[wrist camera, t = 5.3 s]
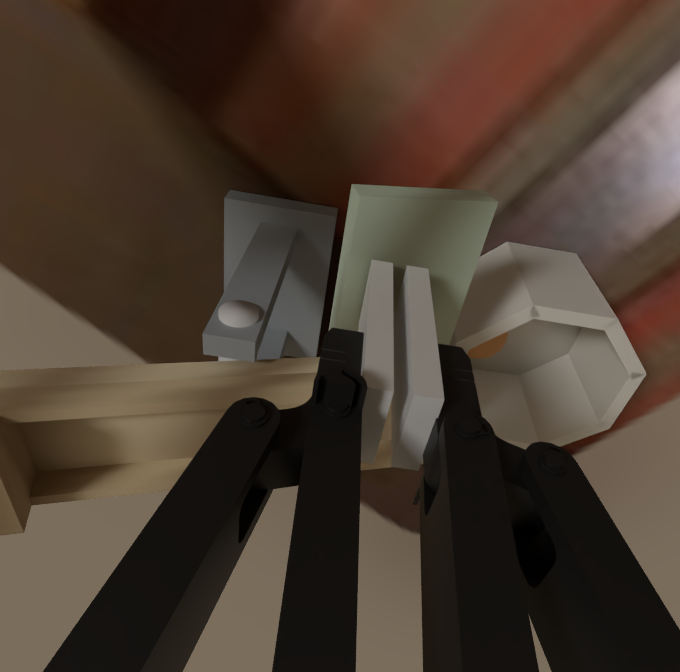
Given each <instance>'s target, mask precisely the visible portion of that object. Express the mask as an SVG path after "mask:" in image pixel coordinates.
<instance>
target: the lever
mask: <svg viewBox="0 0 680 672" xmlns="http://www.w3.org/2000/svg"><path fill="white" fill-rule="evenodd" d="M497 205H498V202H497V201H496V200H495V199H494V198H493V197H492V196H490V195H489V194H488V193H487V192H486V191H476V190H457V189H438V188H418V187H399V186H380V185H361V184H352V185H351V192H350V198H349V205H348V211H347V217H346V224H345V230H344V236H343V243H342V249H341V255H340V262H339V268H338V274H337V281H336V287H335V293H334V300H333V306H332V312H331V319H330V325H329V330H330V329H331V328H332V327H333V328H339V329H345V330H351V331H357V332H358V327H359V320H360V315H361V310H362V305H363V300H364V295H365V290H366V285H367V280H368V275H369V270H370V265H371V260H378V261H384V262H390V263H393V319H394V315H395V311H396V307H397V303H398V299H399V295H400V291H401V287H402V283H403V279H404V275H405V271H406V267H407V265H408V266H414V267H420V268H427V269H428V270H429V278H430V286H431V294H432V302H433V311H434V319H435V327H436V335H437V343H438V344H445V345H449V344H450V341H451V338H452V335H453V332H454V329H455V326H456V324H457V321H458V318H459V315H460V312H461V309H462V306H463V303H464V300H465V297H466V295H467V292H468V289H469V286H470V283H471V280H472V277H473V274H474V271H475V269H476V266H477V263H478V260H479V257H480V254H481V251H482V248H483V245H484V242H485V240H486V237H487V234H488V231H489V228H490V225H491V222H492V219H493V216H494V214H495V211H496V208H497ZM319 360H320V357H309V358H285V359H261V360H255V362H249V361H243V360H238V361H214V362H190V363H167V364H143V365H120V366H97V367H74V368H73V367H72V368H52V369H51V368H49V369H25V370H2V371H0V535H9V534H17V533H24V530H25V527H26V523H27V519H28V516H29V512H30V509H31V505H39V504H48V503H58V502H67V501H77V500H86V499H96V498H105V497H114V496H124V495H132V494H142V493H152V492H161V491H170V490H171V489H172V487H173V486H174V485H175V483H176V482H177V480H178V479H179V478H180V476H181V475H182V473H183V472H184V470H185V469H186V468H187V466H188V465H189V463H190V462H191V460H192V459H193V458H194V456H195V455H196V453H197V452H198V450H199V449H200V448H201V446H202V445H203V443H204V442H205V441H206V439H207V438H208V436H209V435H210V433H211V432H212V431H213V429H214V428H215V426H216V425H217V423H218V422H219V421H220V419H221V418H222V416H223V415H224V414H225V412H226V411H227V409H228V408H229V407H230V406H231V405H232V404H233V403H234V402H236V401H238V400H241V399H243V398H249V397H257V398H263V399H266V400H268V401H270V402H272V403H273V404H274V405H275V406H276V407H277V408H278V409H279V410H280V409H289V408H295V407H298V406H300V405H303V404H304V403H305V402H307V401H308V400H309V399H310V398H311V396H312V391H313V384H314V379H315V377H316V375H317V370H318V365H319ZM421 464H423V460H422V462H421ZM388 467H391V404H390V407H389V411H388V414H387V418H386V422H385V425H384V429H383V432H382V436H381V439H380V443H379V446H378V450H377V454H376V457H375V461H374V464H372V463H366V462H361V470H369V469H379V468H388Z"/></svg>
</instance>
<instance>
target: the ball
mask: <svg viewBox="0 0 680 672" xmlns="http://www.w3.org/2000/svg"><path fill="white" fill-rule="evenodd" d="M507 337H508V331H507V332H505V333H503V334H501V335H499V336H497V337H495V338H492V339H490V340H488V341H486V342H484V343H482V344H480V345H478V346H476V347H474V348H472V349H470V350H469V351H468V354H467V355H468V357H471V358H477V359H481V358H487V357H490V356H492V355H494V354H496V353H497V352H499V351H500V350H501V349H502V347H503V346H504V344H505V343H506V340H507Z"/></svg>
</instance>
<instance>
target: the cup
mask: <svg viewBox="0 0 680 672" xmlns="http://www.w3.org/2000/svg"><path fill="white" fill-rule="evenodd" d="M507 331H508V337H507V340H506V343H505V344H504V346H503V347H502V349H501V350H500V351H499V352H497V353H496V354H494V355H492V356H490V357H487V358H481V359H477V358H471V357H469V358H470V360H471V365H472V370H473V371H472V373H473V375H474V380H475V381H474V383H475V385H476V390H477V395H478V400H479V404H480V409H481V414H482V417H483V418H485V419H486V420H487V421H488V422H489V423H490V425H491V426H492V428H493V430H494V433H495V435H496V436H497V437H499V438H500V439H502V440H504V441H506V442H508V443H510V444H513V445H515V446H518V447H520V448H523V449H525V450H526V448H527V447H528V446H529V445H531V444H532V443H535V442H540V441H541V442H548V443H552V444H554V445H557V446H559V447H560V446H563V445H566V444H569V443H572V442H574V441H577V440H580V439H583V438H585V437H588V436H591V435H594V434H596V433H599V432H602V431H605V430H608V429H610V427H611V426H612V424H613V423H614V422H615V420H616V419H617V417H618V416H619V414H620V413H621V411H622V410H623V408H624V407H625V405H626V404H627V402H628V401H629V399H630V398H631V396H632V395H633V393H634V392H635V391H636V389H637V388H638V386H639V385H640V383H641V382H642V380H643V379H644V377H645V376H646V372H645V370H644V368H643V366H642V364H641V362H640V360H639V359H638V357H637V355H636V353H635V351H634V349H633V347H632V345H631V343H630V341H629V339H628V337H627V336H626V334H625V332H624V330H623V328H622V326H621V324H620V322H619V320H618V318H617V317H616V315H615V314H614V312H613V311H612V309H611V307H610V306H609V304H608V303H607V301H606V300H605V298H604V297H603V295H602V293H601V292H600V290H599V289H598V287H597V286H596V284H595V282H594V281H593V279H592V278H591V276H590V275H589V273H588V271H587V270H586V268H585V267H584V265H583V264H582V262H581V260H580V259H579V257H578V256H577V254H576V253H571V252H565V251H559V250H553V249H547V248H541V247H535V246H530V245H524V244H518V243H512V242H506V243H504V244H502V245H500V246H498V247H497V248H495V249H493V250H491V251H490V252H488V253H486V254H484V255H482V256H481V257H479V260H478V263H477V266H476V269H475V271H474V274H473V277H472V280H471V283H470V286H469V289H468V292H467V295H466V297H465V300H464V303H463V306H462V309H461V312H460V315H459V318H458V321H457V324H456V326H455V329H454V332H453V335H452V338H451V341H450V344H449V345H451V346H457V347H462V349H463V350H464V351H465V353H466V354H468V351H469V350H470V349H472V348H474V347H476V346H478V345H480V344H482V343H484V342H486V341H488V340H490V339H492V338H495V337H497V336H499V335H501V334H503V333H505V332H507Z"/></svg>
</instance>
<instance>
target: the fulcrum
mask: <svg viewBox="0 0 680 672" xmlns="http://www.w3.org/2000/svg"><path fill="white" fill-rule="evenodd" d="M337 213H338V208H335V207H329V206H323V205H317V204H311V203H305V202H299V201H293V200H288V199H282V198H276V197H270V196H264V195H258V194H252V193H246V192H240V191H234V190H230V191H229V192H228V193H227V195H226V196H225V198H224V294H223V296H222V297H221V299H220V301H219V303H218V305H217V307H216V309H215V311H214V313H213V315H212V317H211V319H210V321H209V322H208V324H207V326H206V328H205V330H204V332H203V354H206V355H212V356H218V357H219V361H238V360H243V361H249V362H255V360H261V359H282V357H283V355H286V356H292V357H298V358H309V357H316V355H317V350H318V344H319V337H320V330H321V323H322V317H323V310H324V303H325V296H326V289H327V282H328V275H329V268H330V262H331V255H332V248H333V241H334V234H335V227H336V220H337Z"/></svg>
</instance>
